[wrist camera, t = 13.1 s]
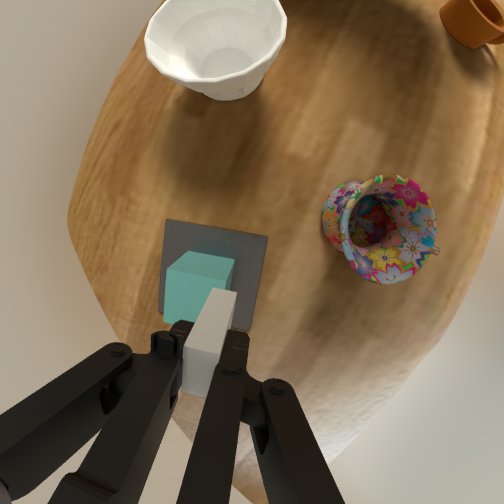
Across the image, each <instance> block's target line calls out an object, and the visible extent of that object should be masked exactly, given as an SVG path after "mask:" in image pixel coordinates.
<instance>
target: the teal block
mask: <svg viewBox="0 0 504 504" xmlns="http://www.w3.org/2000/svg"><path fill="white" fill-rule="evenodd" d="M234 263H235V259H229V258H224V257H219V256H213V255H208V254H202V253H197V252H192V251H187V252H186V253H185V254H184V255H183V256H181V257H180V258H179V259H178V260H177V261H176V262H174V263H173V264H172V265H171V266H170V267H169V268H167V274H166V286H165V301H164V319H163V322H165V323H169V324H174V323H175V322H177V321H179V320H181V319H182V320H186V321H191V322H196V320H197V318H198V316H199V314H200V312H201V310H202V308H203V306H204V304H205V302H206V300H207V298H208V296H209V294H210V292H211V290H212V288H213V287H214V288H218V289H223V290H228V291H230V288H231V281H232V275H233V269H234Z"/></svg>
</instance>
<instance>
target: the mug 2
mask: <svg viewBox="0 0 504 504" xmlns="http://www.w3.org/2000/svg"><path fill="white" fill-rule="evenodd" d="M439 13H440V18H441V20H442V22H443V24H444V26H445V27H446V29H447V30H448V31H449V33H450V34H451V35H452V36H453V37H454V38H455V39H456V40H457V41H459V42H460V43H461V44H463V45H464V46H466V47H468V48H471V49H476V48H478V47H480V46H481V45H483V44H485V43H488V44H495V45H496V44H502V43H504V15H503V13H502V12H501V10H500V9H499V8H498V6H497V5H496V4H495V3H494V2H493V0H450V1H448V2H447V3H446V4H445V5H444V6H443V7H442V8H441V9H440V12H439Z"/></svg>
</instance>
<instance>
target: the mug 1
mask: <svg viewBox="0 0 504 504" xmlns="http://www.w3.org/2000/svg"><path fill="white" fill-rule="evenodd" d="M322 224H323V229H324V232H325V234H326V236H327V238H328V240H329V241H330V242H331V244H332V245H333V246H335V247H336V248H337V249H339V250H340V251H342V252H344V254H345V257H346V259H347V261H348V262H349V264H350V265H351V267H352V268H353V269H354V270H355V271H356V272H357V273H358V274H359V275H360V276H361V277H363V278H364V279H366V280H368V281H370V282H373V283H377V284H395V283H399V282H401V281H404V280H406V279H408V278H410V277H411V276H413V275H414V274H415V273H416V272H417V271H418V270H419V269H420V268H421V267H422V266H423V265H424V263H425V262H426V260H427V259H428V257H429V255H430V253H433V254H435V255H439V253H440V248H438V247H436V246H434V241H435V236H436V218H435V213H434V209H433V206H432V204H431V201H430V199H429V198H428V196H427V194H426V193H425V192H424V190H423V189H422V188H421V187H420V186H419V185H418V184H416V183H415V182H414V181H412V180H410V179H409V178H406V177H404V176H401V175H396V174H385V175H379V176H376V177H373V178H371V179H369V180H367V181H366V182H363V181H350V182H346V183H344V184H342V185H340V186H338V187H337V188H336V189H334V190H333V191H332V192H331V194H330V195H329V196H328V198H327V200H326V202H325V204H324V207H323V212H322Z"/></svg>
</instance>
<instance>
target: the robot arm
mask: <svg viewBox="0 0 504 504" xmlns="http://www.w3.org/2000/svg"><path fill="white" fill-rule="evenodd" d="M236 296H237V292H233V291H228V290H223V289H218V288H214V287H213V288H212V290H211V292H210V294H209V296H208V298H207V300H206V302H205V304H204V306H203V308H202V310H201V312H200V314H199V316H198V318H197V320H196V322H191V321H186V320H182V319H181V320H179V321H177V322H175V323H174V325H173V326H172V328H171V329H170V331H157V332H154V333H153V334H152V335H151V351H150V353H149V354H136V353H132V350H131V348H130V347H129V346H128V345H126V344H124V343H119V342H114V343H110V344H107V345H105V346H104V347H103V348H101V349H99V350H98V351H96V352H95V353H93V354H92V355H90V356H89V357H87V358H86V359H84V360H83V361H82V362H80V363H78V364H77V365H75V366H74V367H72V368H71V369H69V370H68V371H66V372H65V373H63V374H61V375H60V376H58V377H57V378H55V379H54V380H52V381H51V382H49V383H48V384H46V385H45V386H43V387H42V388H40V389H39V390H37V391H36V392H35V393H33V394H31V395H30V396H28V397H27V398H25V399H24V400H22V401H21V402H19V403H18V404H16V405H15V406H13V407H12V408H10V409H9V410H7V411H6V412H4V413H3V414H1V415H0V504H11V501H14V500H17V499H19V498H21V497H23V496H25V495H27V494H28V493H30V492H31V491H32V490H34V489H35V488H36V487H37V486H38V485H40V484H41V483H42V482H43V481H44V480H45V479H47V478H48V477H49V476H50V475H51V474H52V473H53V472H55V471H56V470H57V469H58V468H59V467H60V466H61V465H62V464H63V463H64V462H66V461H67V460H68V459H69V458H70V457H71V456H72V455H73V454H74V453H76V452H77V451H78V450H79V449H80V448H81V447H82V446H83V445H85V443H87V442H88V441H89V440H90V439H91V438H92V437H93V436H94V435H95V434H97V433H98V432H99V431H100V430H101V429H102V430H101V431H100V433H99V435H98V436H97V438H96V440H95V441H94V443H93V445H92V446H91V448H90V450H89V452H88V453H87V455H86V457H85V458H84V460H83V462H82V463H81V465H80V467H79V469H78V470H77V471H76V472H74V473H68V474H66V475H65V476H64V477H63V478H62V480H61V481H60V483H59V485H58V486H57V488H56V490H55V491H54V493H53V495H52V497H51V499H50V500H49V502H48V504H138V502H139V499H140V496H141V494H142V491H143V488H144V486H145V483H146V480H147V478H148V475H149V472H150V470H151V467H152V464H153V462H154V459H155V457H156V454H157V452H158V449H159V446H160V444H161V441H162V439H163V436H164V433H165V431H166V428H167V425H168V423H169V420H170V418H171V415H172V413H173V410H174V408H175V405H176V403H177V400H178V391H179V389H180V386H181V392H183V393H187V394H191V395H195V396H199V397H203V398H206V401H205V404H204V408H203V411H202V415H201V418H200V422H199V425H198V429H197V432H196V436H195V439H194V442H193V446H192V450H191V453H190V457H189V460H188V463H187V467H186V471H185V474H184V478H183V481H182V485H181V489H180V492H179V496H178V499H177V502H176V504H229V498H230V491H231V484H232V477H233V470H234V463H235V456H236V448H237V441H238V434H239V426H240V421H241V422H244V423H246V424H248V425H250V431H251V435H252V440H253V444H254V448H255V452H256V456H257V460H258V464H259V468H260V472H261V475H262V479H263V483H264V487H265V491H266V494H267V498H268V502H269V504H345V502H344V500H343V498H342V496H341V494H340V492H339V489H338V487H337V485H336V483H335V481H334V479H333V476H332V474H331V472H330V470H329V468H328V466H327V463H326V461H325V459H324V457H323V455H322V452H321V450H320V448H319V446H318V443H317V441H316V439H315V437H314V435H313V432H312V430H311V428H310V426H309V423H308V421H307V419H306V417H305V414H304V412H303V410H302V408H301V405H300V403H299V401H298V399H297V396H296V394H295V392H294V389H293V388H292V386H291V385H290V384H289V383H287V382H286V381H284V380H281V379H275V378H273V379H268V380H266V381H264V382H260V381H258V380H256V379H254V378H252V377H251V376H250V375H249V374H248V372H247V370H246V366H247V358H248V350H249V342H250V338H249V336H248V334H247V333H245V332H240V331H235V330H230V329H231V323H232V318H233V312H234V307H235V301H236Z"/></svg>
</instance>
